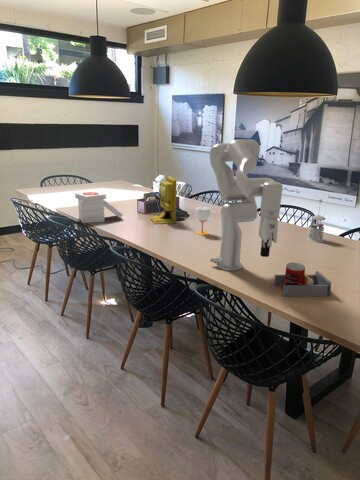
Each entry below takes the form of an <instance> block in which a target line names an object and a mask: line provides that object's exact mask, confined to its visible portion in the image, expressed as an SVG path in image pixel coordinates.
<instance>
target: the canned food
mask: <svg viewBox="0 0 360 480" xmlns="http://www.w3.org/2000/svg"><path fill="white" fill-rule="evenodd" d="M304 274H306V266H305V265H304V264H302V263H299V262H288V263H286V266H285V274H284V275H285V282H284V285H303V282H304ZM284 285H283V286H284Z"/></svg>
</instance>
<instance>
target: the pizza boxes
mask: <svg viewBox="0 0 360 480" xmlns="http://www.w3.org/2000/svg"><path fill="white" fill-rule="evenodd" d="M74 194H75V195H74V197H75V199H77V200H78V201H77V202H78V205H77V206H78V218H79V221H81V223H82V224H86V223H101V222H102V223H103V222H105V208H106V209H107V210H108V211H110V212H111V213H112V214H114V215H115V216H116V217H118V218H120V219H121V218H122V216H124V214H123V213H122V212H121V211H119V210H118V208H116V207H114V206H113V205H112V204H110V203H109V202H108V201H107V200H106V199H107V196H106V195H107V194H105V193H101V192H99V191H95V190H93V191H87V192H86V191H83V192H76V193H74Z"/></svg>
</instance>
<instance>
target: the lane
mask: <svg viewBox="0 0 360 480" xmlns="http://www.w3.org/2000/svg"><path fill="white" fill-rule="evenodd" d="M306 275H307V276H308V277H309V278H310V279H313V285H284V282H285V274H274V280H273V285H274V286H283V287H282V297H285V298H286V297H289V298H290V297H293V298H294V297H329V296H330V295H331V289H332V288H331V287H332V281H330V280H329V279H328V278H327V277H326V276H325V275H324V274H322V273H321V272H320V271H318V270H316V271H315V274H311V273H310V274H309V273H308V274H306Z"/></svg>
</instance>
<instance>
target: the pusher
mask: <svg viewBox="0 0 360 480" xmlns="http://www.w3.org/2000/svg"><path fill="white" fill-rule="evenodd" d="M303 285H313V279H310V278H309V277H308V276H307V274H306V273H305V274H304V282H303Z"/></svg>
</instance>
